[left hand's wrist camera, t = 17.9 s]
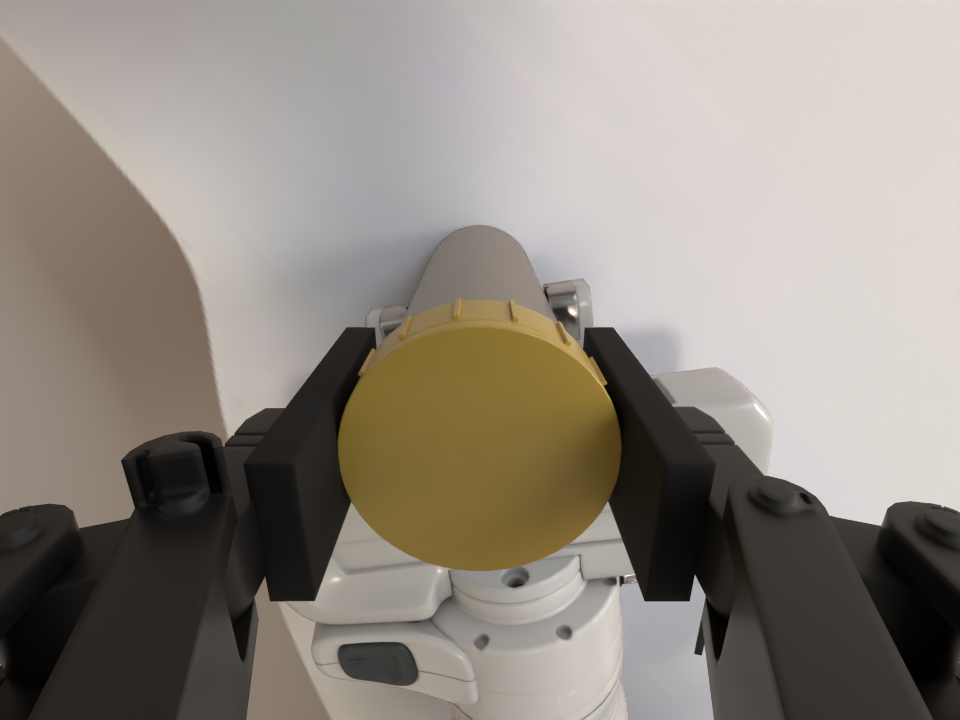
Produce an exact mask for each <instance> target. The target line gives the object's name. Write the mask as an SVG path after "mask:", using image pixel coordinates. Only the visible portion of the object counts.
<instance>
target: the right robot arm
mask: <svg viewBox="0 0 960 720" xmlns="http://www.w3.org/2000/svg"><path fill="white" fill-rule="evenodd" d="M543 292H544V294H545V296H546V298H547V300H548V303H549V305H550V307H551V309H552V311H553V314H554V316H555V318H556V320H557V321H560V322H561V323H562V324H563V326H564V328H565V330H566V332H567V333H569V334H570V335H571V336H572V337H573V338H574V339H575V340H576V341H577V343H578V344H579V345H580V347H581V348H582V349H583V342H584V329H585V327H594V324H593V310H592V297H591V292H590V288H589V285H588V284H587V282H586V281H585V280H584V279H583V278H582V279H575V280H568V281H561V282H555V283H548V284H543ZM409 305H410V304H403V305H395V306H387V307H379V308H373V309H371V310H370V312H369V313H368V315H367V316H366V327H375V333H376V346H377V348H378V347H379V345H380V344H381V343H382V342H383V341H384V340H385V339H386V338H387V337H388V336H389V334H390V333H392V332H393V331H394V330H395V329H397V328H398V327H399V326H400V325H401V323H402V321H403V319H404V316H405V314H406V312H407V310H408V308H409ZM650 377H651V378H652V380H653V381H654V382H655V383H656V385H657V386H658V387H659V389H660V390H661V391H662V393H663V394H664V395H665V397H666V398H667V399H668V401H669V402H670V403H671V405H672V406H673V407H696V408H698V409H699V410H701V411H703V412H704V413H706V414H708V415H710V416H711V417H713V418H714V419H715V420H716V421H717V422H718V423H719V424H720V426H721V427H722V428H723V429H724V430H725V434H728V435H729V436H730V437H731V438H732V439H733V440H734V441H735V445H738V446H739V447H740V448H741V449H742V451H743V452H744V453H745V454H746V455H747V456H748V457H749V459H750V460H751V461H752V462H753V463H754V464H755V465H756V466H757V468H758V469H759V470H760V471H761V472H762V473H763V474H764V476H767V471H768V466H769V461H770V455H771V449H772V442H773V432H774V426H773V419H772V417H771V414H770V413H769V411H768V409H767V408H766V407H765V406H764V404H763V403H762V402H761V401H760V400H759V399H758V398H757V397H756V396H755V395H754V394H753V393H752V392H751V391H750V390H749V389H748V388H747V387H746V386H745V385H743V384H742V383H741V382H740V381H738V380H737V379H735V378H734V377H733V376H731V375H730V374H729V373H727V372H726V371H724V370H722V369H720V368H704V369H697V370H689V371H682V372H674V373H667V374H659V375H652V376H650ZM695 576H696V575H695ZM630 583H638V581H637V579H636V576H635V573H634V571H633V568H632V565H631V562H630V560H629V557H628V554H627V551H626V549H625V546H624V543H623V541H622V538H621V535H620V532H619V530H618V527H617V524H616V521H615V519H614V516H613V513H612V511H611V508H610V505H609V502H607V504H606V506H605V507H604V509H603V511H602V512H601V513H600V514H599V516H598V517H597V518H596V520H595V521H594V522H593V523H592V524H591V525H590V526H589V527H588V528H587V529H586V530H585V531H584V532H583V533H582V534H581V535H580V536H579V537H577V538H576V539H575V540H574V541H572V542H571V543H570V544H568V545H567V546H565V547H563V548H562V549H560V550H559V551H557V552H555V553H553V554H551V555H549V556H547V557H545V558H543V559H541V560H538V561H535V562H532V563H529V564H526V565H523V566H518V567H514V568H510V569H503V570H495V571H466V570H456V569H450V568H445V567H440V566H437V565H434V564H430V563H427V562H424V561H422V560H419V559H417V558H414V557H412V556H410V555H408V554H406V553H404V552H403V551H401V550H399V549H397V548H395V547H394V546H393V545H391V544H390V543H388V542H387V541H386V540H384V539H383V538H382V537H380V536H379V535H378V534H377V533H376V532H375V531H374V530H373V529H372V528H371V527H370V526H369V525H368V524H367V523H366V522H365V520H364V519H363V518H362V517H361V516H360V514H359V513H358V511H357V510H356V508H355V507H354V505H353V504H352V502H351V504H350V507H349V510H348V512H347V515H346V518H345V521H344V523H343V526H342V529H341V531H340V534H339V537H338V540H337V542H336V545H335V548H334V551H333V553H332V556H331V559H330V561H329V564H328V567H327V570H326V572H325V575H324V578H323V581H322V583H321V586H320V589H319V591H318V594H317V597H316V600H315V601H285V602H286V603H287V604H288V605H289V606H290V607H291V608H292V609H293V610H295V611H296V612H297V613H299V614H300V615H302V616H303V617H305V618H307V619H309V620H312V621H315V622H316V626H315V631H314V636H313V641H312V647H311V651H312V656H313V659H314V662H315V664H316V666H317V668H318V669H319V670H320V671H321V672H322V673H323V674H325V675H327V676H330V677H333V678H337V679H344V680H352V681H360V682H367V683H374V684H381V685H387V686H392V687H398V688H402V689H407V690H411V691H415V692H419V693H423V694H426V695H429V696H432V697H435V698H438V699H441V700H444V701H447V702H450V703H451V719H452V720H628V710H627V703H626V697H625V692H624V689H623V686H622V683H621V680H620V678H621V674H622V669H623V660H624V645H623V628H622V612H621V596H620V586H622V584H630Z"/></svg>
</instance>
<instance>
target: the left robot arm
mask: <svg viewBox="0 0 960 720" xmlns="http://www.w3.org/2000/svg"><path fill="white" fill-rule="evenodd" d="M372 348H373V349H375V350H376V349H377V346H376V333H375V327H347V328H346V329H345V330H344V332H343V333H342V334H341V336H340V337H339V338H338V340H337V341H336V342H335V344H334V345H333V346H332V347H331V349H330V350H329V351H328V353H327V354H326V355H325V357H324V358H323V359H322V361H321V362H320V363H319V365H318V366H317V367H316V369H315V370H314V371H313V372H312V374H311V375H310V376H309V378H308V379H307V380H306V382H305V383H304V384H303V386H302V387H301V388H300V390H299V391H298V392H297V394H296V395H295V396H294V397H293V399H292V400H291V401H290V403H289V404H288V405H287V407H286V408H265V409H264V410H262V411H260V412H258V413H257V414H255V415H253V416H252V417H250V418H248V419H247V420H246V421H245V422H244V423H243V424H242V425H241V426H240V427H239V429H238V430H237V431H236V432H235V436H232V437H231V438H230V439H229V440H228V441H227V442H226V443H225V447H223V446H222V441H221V439H220V438H219V437H217V436H216V435H214V434H213V433H207V432H202V431H191V432H180V433H175V434H170V435H165V436H162V437H159V438H156V439H154V440H151V441H148V442H146V443H144V444H142V445H140V446H138V447H137V448H135V449H133V450H131V451H130V452H129V453H128V454H127V455H126V456H125V457H124V458H123V459H122V460H121V462H122V465H123V469H124V472H125V476H126V479H127V482H128V485H129V489H130V492H131V496H132V499H133V502H134V506H135V509H134V512H133V514H132V515H131V517H130V518H129V519H125V520H120V521H115V522H110V523H105V524H100V525H94V526H89V527H84V528H79V527H78V524H77V521H76V519H75V516H74V513H73V511H72V510H71V509H69V508H68V507H66V506H65V505H56V504H44V505H36V506H27V507H23V508H19V510H17V509H15V510H12V511H9V512H6V513H4V514H2V515H1V516H0V664H1V666H0V720H246V717H247V708H248V700H249V692H250V684H251V676H252V668H253V660H254V652H255V644H256V636H257V627H258V614H257V608H256V603H255V599H254V597H255V595H256V593H257V591H258V589H259V587H260V585H261V583H262V581H263V579H264V577H266V582H267V588H268V592H269V598H270V601H315V600H316V597H317V594H318V591H319V589H320V586H321V583H322V581H323V578H324V575H325V572H326V570H327V567H328V564H329V561H330V559H331V556H332V553H333V551H334V548H335V545H336V542H337V540H338V537H339V534H340V531H341V529H342V526H343V523H344V521H345V518H346V515H347V512H348V510H349V507H350V504H351V500H350V498H349V496H348V494H347V491H346V489H345V487H344V484H343V481H342V477H341V473H340V465H339V457H338V445H337V438H338V432H339V426H340V421H341V417H342V415H343V412H344V409H345V406H346V404H347V402H348V400H349V398H350V396H351V394H352V392H353V390H354V388H355V386H356V385H357V383H358V381H359V379H360V377H361V376H359V375H358V373H359V371H360V369H361V367H362V366H363V364H364V362H365V360H366V358H367V357H368V355H369V353H370V351H371V350H372ZM583 350H584V352H585V353H586V355H587V356H588V358H590V357H593V359H594V360H595V362H596V364H597V366H598V368H599V370H600V371H601V373H602V375H603V377H604V379H605V380H606V382H607V384H606V385H604V388H605V389H606V391H607V393H608V395H609V397H610V399H611V401H612V403H613V406H614V408H615V411H616V414H617V416H618V420H619V425H620V429H621V437H622V452H621V461H620V469H619V475H618V479H617V482H616V485H615V487H614V490H613V492H612V495H611V497H610V499H609V500H608V502H609V505H610V508H611V511H612V513H613V516H614V519H615V521H616V524H617V527H618V530H619V532H620V535H621V538H622V541H623V543H624V546H625V549H626V551H627V554H628V557H629V560H630V562H631V565H632V568H633V571H634V573H635V576H636V579H637V581H638V584H639V587H640V590H641V592H642V595H643V598H644V600H645V601H690V596H691V591H692V586H693V581H694V576H695V575H696V577H697V579H698V581H699V583H700V585H701V587H702V589H703V591H704V593H705V595H706V598H705V603H704V608H703V613H702V617H701V622H700V627H699V632H698V636H697V641H696V647H695V653H694V654H698V655H702V652H703V647H704V644H705V650H706V658H707V667H708V675H709V683H710V691H711V699H712V707H713V715H714V720H960V663H959V662H960V513H959V512H958V511H956V510H953V509H950V508H947V507H944V508H943V507H941V506H940V505H936V504H931V503H920V502H912V501H909V502H900V503H895V504H893V505H892V506H891V507H889V508H888V509H887V512H886V514H885V517H884V520H883V523H882V526H878V525H873V524H868V523H862V522H857V521H852V520H847V519H842V518H837V517H833V516H829V514H828V512H827V510H826V509H825V507H824V506H823V505H822V503H821V502H820V501H819V500H818V499H817V497H816V496H814V495H813V494H811V493H810V492H808V491H807V490H805V489H804V488H802V487H800V486H798V485H795V484H793V483H790V482H788V481H786V480H782V479H778V478H774V477H770V476H764V474H763V473H762V472H761V471H760V470H759V469H758V468H757V466H756V465H755V464H754V463H753V462H752V461H751V460H750V459H749V457H748V456H747V455H746V454H745V453H744V452H743V451H742V449H741V448H740V447H739V446H738V445H735V441H734V440H733V439H732V438H731V437H730V436H729V435H728V434H725V430H724V429H723V428H722V427H721V426H720V424H719V423H718V422H717V421H716V420H715V419H714V418H713V417H711V416H710V415H708V414H706V413H704V412H703V411H701V410H699V409H698V408H696V407H673V406H672V405H671V403H670V402H669V401H668V399H667V398H666V397H665V395H664V394H663V393H662V391H661V390H660V389H659V387H658V386H657V385H656V383H655V382H654V381H653V380H652V378H651V377H650V376H649V374H648V373H647V372H646V370H645V369H644V368H643V366H642V365H641V364H640V362H639V361H638V360H637V358H636V357H635V356H634V355H633V353H632V352H631V351H630V349H629V348H628V347H627V345H626V344H625V343H624V341H623V340H622V339H621V337H620V336H619V335H618V333H617V332H616V331H615V329H614V328H613V327H585V329H584V342H583Z"/></svg>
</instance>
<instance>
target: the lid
mask: <svg viewBox="0 0 960 720" xmlns="http://www.w3.org/2000/svg"><path fill="white" fill-rule="evenodd" d="M358 375H359V376H361V377H360V379H359V381H358V383H357V385H356V386H355V388H354V390H353V392H352V394H351V396H350V398H349V400H348V402H347V404H346V406H345V409H344V412H343V415H342V417H341V421H340V426H339V432H338V438H337V445H338V457H339V465H340V473H341V477H342V481H343V484H344V487H345V489H346V491H347V494H348V496H349V498H350V500H351V502H352V504H353V505H354V507H355V508H356V510H357V511H358V513H359V514H360V516H361V517H362V518H363V519H364V520H365V522H366V523H367V524H368V525H369V526H370V527H371V528H372V529H373V530H374V531H375V532H376V533H377V534H378V535H379V536H380V537H382V538H383V539H384V540H386V541H387V542H388V543H390V544H391V545H393V546H394V547H395V548H397V549H399V550H401V551H403V552H404V553H406V554H408V555H410V556H412V557H414V558H417V559H419V560H422V561H424V562H427V563H430V564H434V565H437V566H440V567H445V568H450V569H456V570H466V571H495V570H503V569H510V568H514V567H518V566H523V565H526V564H529V563H532V562H535V561H538V560H541V559H543V558H545V557H547V556H549V555H551V554H553V553H555V552H557V551H559V550H560V549H562V548H563V547H565V546H567V545H568V544H570V543H571V542H572V541H574V540H575V539H576V538H577V537H579V536H580V535H581V534H582V533H583V532H584V531H585V530H586V529H587V528H588V527H589V526H590V525H591V524H592V523H593V522H594V521H595V520H596V518H597V517H598V516H599V514H600V513H601V512H602V511H603V509H604V507H605V506H606V504H607V502H608V500H609V499H610V497H611V495H612V492H613V490H614V487H615V485H616V482H617V479H618V475H619V469H620V461H621V452H622V437H621V429H620V425H619V420H618V416H617V414H616V411H615V408H614V406H613V403H612V401H611V399H610V397H609V395H608V393H607V391H606V389H605V388H604V385H606V384H607V382H606V380H605V379H604V377H603V375H602V373H601V371H600V370H599V368H598V366H597V364H596V362H595V360H594V359H593V357H590V358H588V356H587V355H586V353H585V352H584V350H583V349H582V348H581V347H580V345H579V344H578V343H577V341H576V340H575V339H574V338H573V337H572V336H571V335H570V334H569V333H567V332H566V330H565V328H564V326H563V324H562V323H561V322H560V321H557V323H555V322H553V321H552V320H551V319H549V318H547V317H545V316H543V315H541V314H539V313H538V312H536V311H533V310H530V309H528V308H525V307H522V306H520V305H516V304H515V301H514V300H510V301H509V303H507V302H503V301H494V300H465V301H461V298H456V300H455V302H451V303H447V304H444V305H440V306H437V307H433V308H431V309H429V310H427V311H424V312H422V313H420V314H417V315H416V316H414V317H413V318H412V317H411V315H409V316H407V317H406V319H405V321H404V323H403V324H402V325H400V326H399V327H398V328H397V329H395V330H394V331H393V332H392V333H390V334H389V336H388V337H387V338H386V339H385V340H384V341H383V342H382V343H381V344H380V345H379V347H378V348H377V349H376V350H375V349H373V348H372V350H371V351H370V353H369V355H368V357H367V358H366V360H365V362H364V364H363V366H362V367H361V369H360V371H359V373H358Z"/></svg>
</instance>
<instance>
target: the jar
mask: <svg viewBox="0 0 960 720" xmlns="http://www.w3.org/2000/svg"><path fill="white" fill-rule="evenodd" d="M456 298H461V301H465V300H494V301H503V302H507V303H509V301H510V300H514V301H515V304H516V305H520V306H522V307H525V308H528V309H530V310H533V311H536V312H538V313H539V314H541V315H543V316H545V317H547V318H549V319H551V320H552V321H553V322H555V323H557V320H556V318H555V316H554V314H553V311H552V309H551V307H550V305H549V303H548V300H547V298H546V296H545V294H544V292H543V290H542V287H541V285H540V283H539V281H538V279H537V276H536V274H535V272H534V270H533V268H532V266H531V263H530V261H529V259H528V257H527V255H526V253H525V251H524V249H523V248H522V247H521V245H520V244H519V243H518V242H517V241H516V240H515V239H514V238H513V237H512V236H510V235H509V234H508V233H506V232H504V231H502V230H500V229H497V228H494V227H490V226H482V225H480V226H470V227H465V228H462V229H460V230H457V231H455V232H453V233H452V234H450V235H449V236H448V237H446V238H445V239H444V240H443V241H442V242H441V243H440V244H439V245H438V247H437V248H436V250H435V251H434V253H433V255H432V257H431V260H430V262H429V264H428V266H427V268H426V271H425V273H424V275H423V277H422V279H421V281H420V284H419V286H418V288H417V290H416V292H415V295H414V297H413V299H412V301H411V303H410V305H409V308H408V310H407V312H406V314H405V316H404V319H403V321H402V323H401V325H402V324H403V323H404V321H405V319H406V317H407V316H409V315H411V317H412V318H413V317H414V316H416V315H417V314H420V313H422V312H424V311H427V310H429V309H431V308H433V307H437V306H440V305H444V304H447V303H451V302H455V300H456Z"/></svg>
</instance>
